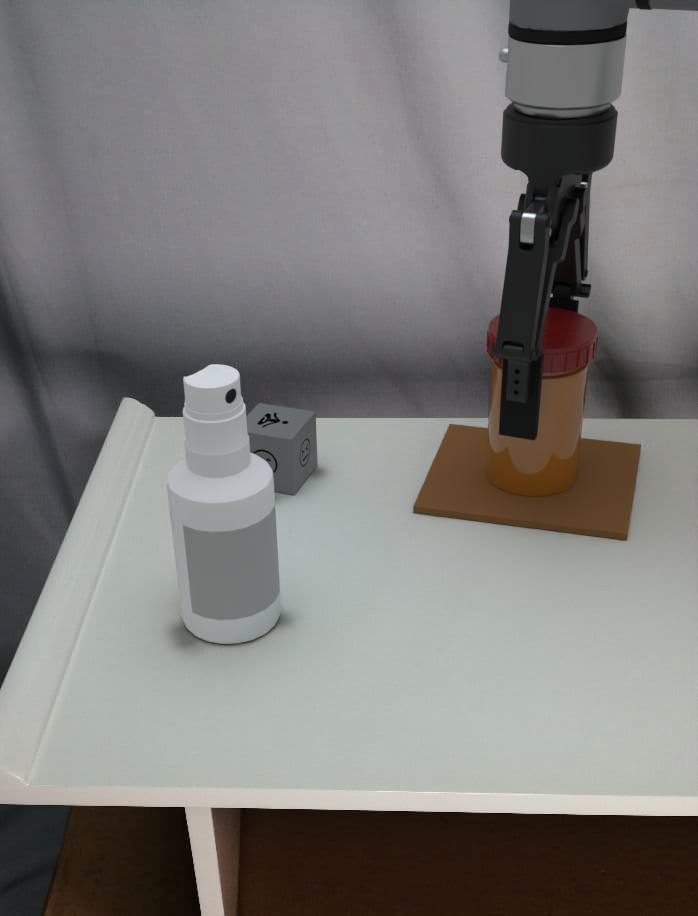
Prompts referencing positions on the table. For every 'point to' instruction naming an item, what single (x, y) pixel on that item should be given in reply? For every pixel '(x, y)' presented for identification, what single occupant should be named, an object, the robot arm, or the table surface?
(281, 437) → the gray cube
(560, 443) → the jar
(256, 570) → the spray bottle
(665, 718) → the table surface
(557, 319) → the lid
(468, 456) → the mat
